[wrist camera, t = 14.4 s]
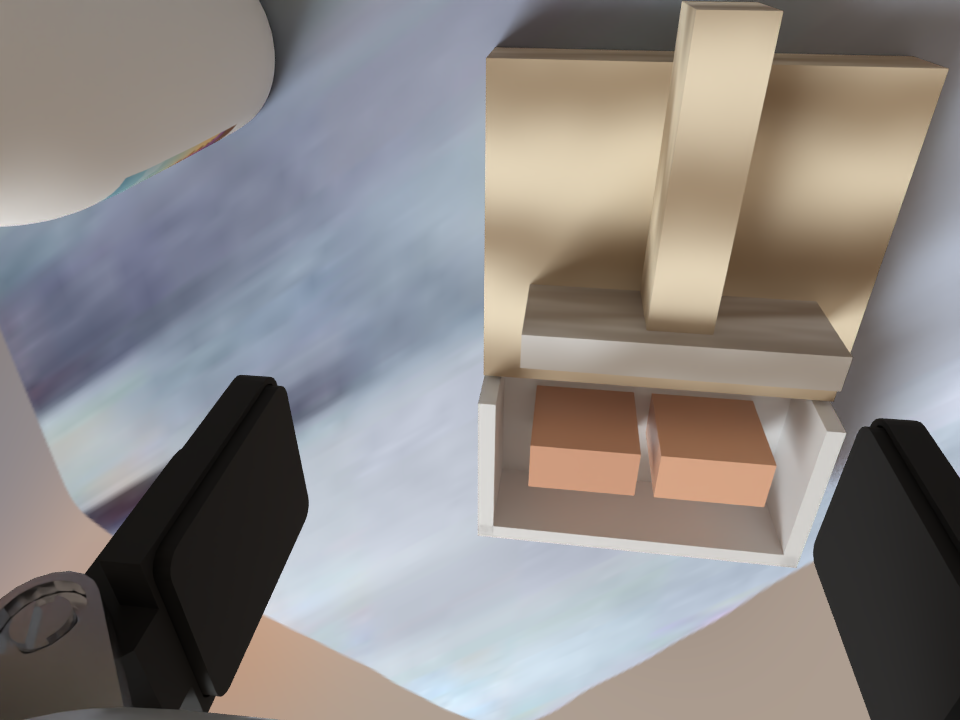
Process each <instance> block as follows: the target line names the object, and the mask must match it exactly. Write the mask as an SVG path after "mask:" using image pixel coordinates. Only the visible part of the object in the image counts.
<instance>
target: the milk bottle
mask: <svg viewBox="0 0 960 720" xmlns="http://www.w3.org/2000/svg"><path fill="white" fill-rule="evenodd" d="M274 69H275V50H274V43H273V37H272V32H271V29H270V26H269V23H268V19H267V16H266V13H265V12H264V10H263V8H262V6H261V3H260V1H259V0H0V226H16V225H26V224H32V223H38V222H44V221H48V220H52V219H56V218H60V217H63V216H66V215H69V214H72V213H76V212H78V211H81V210H83V209H86V208H88V207H90V206H92V205H95V204H97V203H99V202H101V201H103V200H106V199H108V198H110V197H112V196H114V195H117V194H119V193H121V192H123V191H124V190H126V189H128V188H130V187H132V186H134V185H136V184H138V183H140V182H142V181H144V180H146V179H148V178H150V177H151V176H153V175H155V174H157V173H159V172H161V171H163V170H165V169H167V168H169V167H171V166H172V165H174V164H176V163H178V162H180V161H182V160H184V159H185V158H187V157H189V156H191V155H193V154H195V153H197V152H198V151H200V150H202V149H204V148H206V147H208V146H209V145H211V144H213V143H215V142H217V141H219V140H220V139H222V138H224V137H226V136H228V135H230V134H231V133H233V132H235V131H236V130H238V129H240V128H241V127H243V126H244V125H245V124H247V123H248V122H250V121H251V120H252V119H253V118H254V117H255V116H256V115H257V113H258V112H259V111H260V110H261V108H262V107H263V105H264V103H265V101H266V99H267V97H268V95H269V92H270V90H271V86H272V82H273V77H274Z"/></svg>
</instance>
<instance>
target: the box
mask: <svg viewBox="0 0 960 720" xmlns="http://www.w3.org/2000/svg"><path fill="white" fill-rule="evenodd" d="M537 385H541V386H555V387H568V388H582V389H596V390H609V391H623V392H634V397H635V406H636V415H637V424H638V433H639V442H640V451H641V458H640V464H639V470H638V476H637V482H636V488H635V494H634V496H631V495H620V494H609V493H598V492H587V491H576V490H564V489H553V488H542V487H531V486H528V483H529V464H530V445H531V435H532V426H533V417H534V407H535V398H536V388H537ZM652 393H653V394H667V395H681V396H695V397H708V398H722V399H736V400H749V401H753V403H754V405H755V408H756V411H757V414H758V416H759V419H760V422H761V424H762V427H763V430H764V433H765V435H766V438H767V441H768V443H769V446H770V449H771V451H772V454H773V457H774V460H775V462H776V465H777V467H776V470H775V473H774V477H773V480H772V483H771V486H770V490H769V493H768V496H767V499H766V503H765V506H764V507H756V506H745V505H734V504H723V503H712V502H701V501H689V500H678V499H667V498H656V497H654V496H653V488H652V480H651V472H650V464H649V456H648V448H647V440H646V426H647V420H648V414H649V408H650V401H651V395H652ZM845 435H846V431H845V429H844V428H843V426H842V424H841V422H840V420H839V418H838V416H837V414H836V413H835V411H834V409H833V407H832V405H831V403H830V401H821V400H807V399H794V398H781V397H768V396H754V395H741V394H728V393H714V392H701V391H688V390H674V389H661V388H648V387H634V386H621V385H608V384H595V383H581V382H568V381H555V380H541V379H528V378H515V377H501V376H488V375H485V376H484V380H483V385H482V389H481V393H480V398H479V402H478V536H487V537H496V538H506V539H516V540H526V541H536V542H546V543H555V544H565V545H575V546H585V547H595V548H605V549H615V550H624V551H634V552H644V553H654V554H664V555H674V556H683V557H693V558H703V559H713V560H723V561H733V562H742V563H752V564H762V565H772V566H782V567H792V568H797V565H798V562H799V560H800V557H801V554H802V551H803V549H804V546H805V543H806V541H807V538H808V535H809V533H810V530H811V527H812V524H813V522H814V519H815V516H816V514H817V511H818V508H819V506H820V503H821V500H822V497H823V495H824V492H825V489H826V487H827V484H828V481H829V479H830V476H831V473H832V470H833V468H834V465H835V462H836V460H837V457H838V454H839V452H840V449H841V446H842V444H843V441H844V438H845Z"/></svg>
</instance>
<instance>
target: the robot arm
mask: <svg viewBox="0 0 960 720" xmlns="http://www.w3.org/2000/svg"><path fill="white" fill-rule="evenodd" d="M308 507H309V500H308V494H307V489H306V484H305V479H304V474H303V469H302V464H301V460H300V455H299V450H298V445H297V440H296V435H295V430H294V425H293V420H292V416H291V411H290V406H289V401H288V396H287V392H286V389H285V388H284V387H283V386H277V383H276V381H275V379H274V378H272V377H264V376H250V375H239V376H237V377H236V378H235V379H234V380H233V381H232V382H231V384H230V385H229V386H228V388H227V389H226V390H225V392H224V393H223V394H222V396H221V397H220V398H219V400H218V401H217V402H216V404H215V405H214V406H213V408H212V409H211V410H210V412H209V413H208V415H207V416H206V417H205V419H204V420H203V421H202V423H201V424H200V425H199V427H198V428H197V429H196V431H195V432H194V433H193V435H192V436H191V437H190V439H189V440H188V441H187V443H186V444H185V445H184V447H183V448H182V449H180V450H179V451H178V452H177V453H176V454H175V455H174V456H173V457H172V459H171V460H170V461H169V463H168V464H167V465H166V467H165V468H164V469H163V471H162V472H161V473H160V475H159V476H158V477H157V479H156V480H155V481H154V483H153V484H152V485H151V487H150V488H149V489H148V491H147V492H146V493H145V495H144V496H143V497H142V499H141V500H140V501H139V503H138V504H137V505H136V507H135V508H134V509H133V511H132V512H131V513H130V515H129V516H128V517H127V518H126V520H125V521H124V522H123V524H122V525H121V526H120V528H119V529H118V530H117V532H116V533H115V534H114V536H113V537H112V538H111V540H110V541H109V543H108V544H107V545H106V547H105V548H104V549H103V551H102V552H101V553H100V554H99V556H98V557H97V558H96V560H95V561H94V563H93V564H92V565H91V566H90V568H89V569H88V570H87V572H86V573H85V574H82V573H77V572H72V571H66V572H55V573H50V574H47V575H44V576H40V577H37V578H34V579H32V580H30V581H28V582H26V583H24V584H22V585H20V586H18V587H16V588H15V589H13V590H12V591H10V592H9V593H8V594H6V595H5V596H4V597H2V598H1V599H0V720H277V719H267V718H257V717H247V716H237V715H227V714H217V713H208V711H209V709H210V707H211V705H212V703H213V701H214V698H215V696H223V695H224V694H225V693H226V692H227V691H228V689H229V687H230V685H231V683H232V681H233V678H234V676H235V674H236V672H237V669H238V668H239V665H240V663H241V661H242V659H243V656H244V654H245V652H246V650H247V648H248V646H249V643H250V641H251V639H252V637H253V634H254V632H255V630H256V628H257V626H258V624H259V621H260V619H261V617H262V615H263V612H264V610H265V608H266V606H267V604H268V601H269V599H270V597H271V595H272V593H273V590H274V588H275V586H276V584H277V582H278V579H279V577H280V575H281V573H282V571H283V568H284V566H285V564H286V562H287V560H288V557H289V555H290V553H291V551H292V549H293V546H294V544H295V542H296V540H297V538H298V535H299V533H300V531H301V529H302V527H303V524H304V522H305V520H306V517H307V513H308ZM813 557H814V564H815V567H816V570H817V573H818V575H819V578H820V581H821V584H822V586H823V589H824V592H825V595H826V597H827V600H828V603H829V605H830V608H831V611H832V614H833V616H834V619H835V622H836V625H837V627H838V631H839V633H840V636H841V639H842V642H843V644H844V647H845V650H846V653H847V655H848V658H849V661H850V663H851V666H852V669H853V672H854V675H855V677H856V680H857V683H858V685H859V688H860V691H861V694H862V696H863V699H864V702H865V704H866V707H867V710H868V713H869V716H870V719H871V720H960V478H959V476H958V475H957V473H956V472H955V470H954V469H953V467H952V466H951V464H950V463H949V461H948V460H947V458H946V457H945V456H944V454H943V453H942V451H941V450H940V448H939V447H938V445H937V444H936V442H935V441H934V439H933V438H932V436H931V435H930V433H929V432H928V430H927V429H926V428H925V426H924V425H923V424H922V423H921V422H918V421H912V420H898V419H883V418H879V419H876V420H875V421H873V422H872V424H871V426H870V427H862V428H861V429H860V430H859V432H858V434H857V436H856V439H855V441H854V444H853V446H852V449H851V451H850V454H849V457H848V459H847V462H846V464H845V467H844V469H843V472H842V474H841V477H840V479H839V482H838V485H837V487H836V490H835V492H834V495H833V497H832V500H831V502H830V505H829V507H828V510H827V512H826V515H825V518H824V520H823V523H822V525H821V528H820V530H819V533H818V535H817V538H816V540H815V544H814V549H813Z"/></svg>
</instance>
